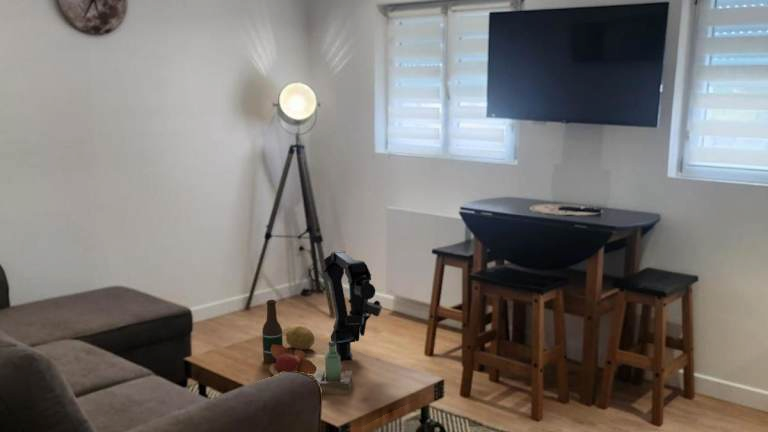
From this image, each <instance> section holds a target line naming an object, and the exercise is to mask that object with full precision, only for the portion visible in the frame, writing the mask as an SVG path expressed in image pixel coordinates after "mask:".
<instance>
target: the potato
mask: <svg viewBox="0 0 768 432" xmlns="http://www.w3.org/2000/svg"><path fill="white" fill-rule="evenodd" d="M285 341H286V343H287V344H288V346H290V347H291V348H293V349H295V350H300V351H304V350H307V349H310V348H311V347H312V346H313V345H314V344H315V335H314V334H313V332H312V330H310V329H309V328H308V327H305V326H302V325H298V326H294V327H292V328H289V330H287V332H286V335H285Z"/></svg>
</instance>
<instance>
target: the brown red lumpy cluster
mask: <svg viewBox="0 0 768 432" xmlns="http://www.w3.org/2000/svg"><path fill="white" fill-rule="evenodd" d="M271 353H272V355H273V357H274V358H276V359H277V361H276V363H275V364H273V368H274V370H275V371H276V372H277V373H278V374H279V373H280V372H282V371H297V372H299V371H300V372H304V373H306V374H308V373H309V374H313V375H314V374H315V373H316V372H317V366H315V364H314V363H313V362H312V361H311V360H310V359H307V353H305V352H304V350H298V349H295V350H294V355H293V354H290V353H289V349H287V348H286V347H285V346H284V345H283V346H282V345H279V344H278V345H277V344H273V345H272V347H271ZM300 372H299V373H300Z"/></svg>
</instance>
